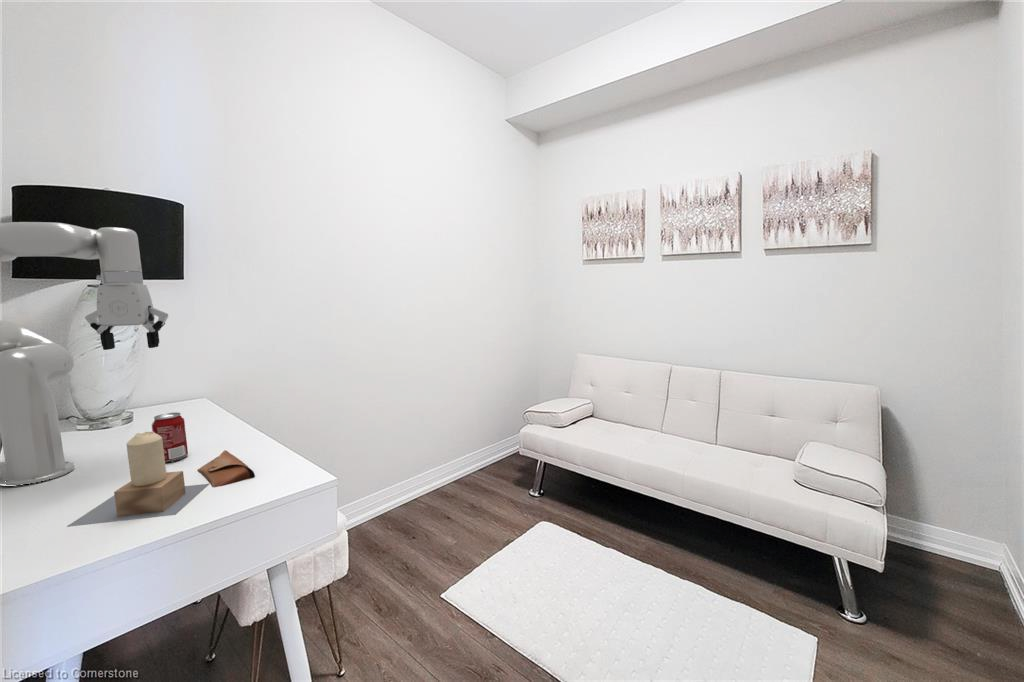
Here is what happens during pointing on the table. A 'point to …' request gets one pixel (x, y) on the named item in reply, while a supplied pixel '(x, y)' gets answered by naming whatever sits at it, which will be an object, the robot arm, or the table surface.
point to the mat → (109, 514)
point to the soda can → (171, 435)
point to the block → (150, 495)
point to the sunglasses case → (225, 470)
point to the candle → (146, 459)
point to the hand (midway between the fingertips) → (131, 348)
